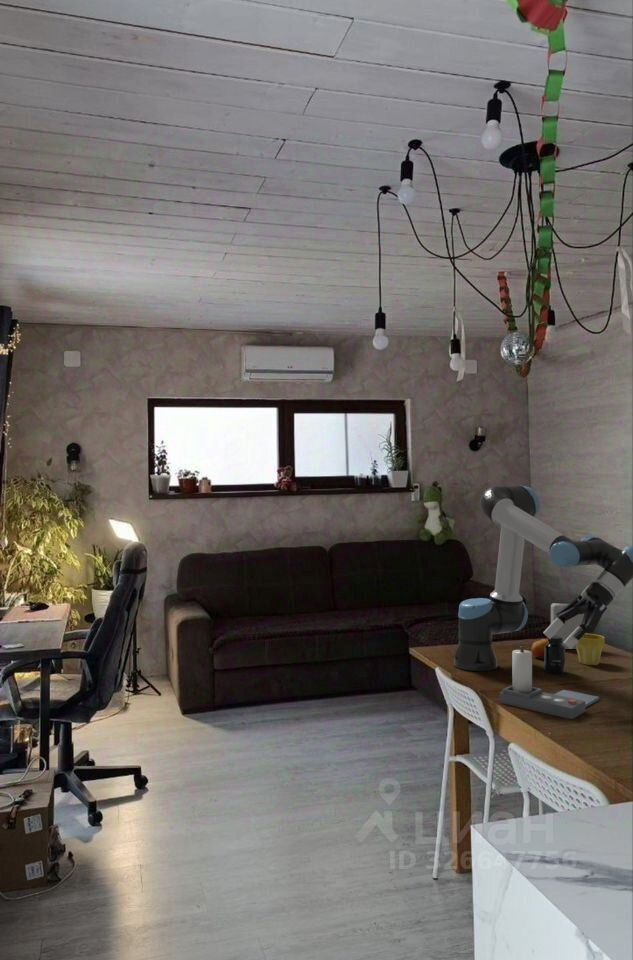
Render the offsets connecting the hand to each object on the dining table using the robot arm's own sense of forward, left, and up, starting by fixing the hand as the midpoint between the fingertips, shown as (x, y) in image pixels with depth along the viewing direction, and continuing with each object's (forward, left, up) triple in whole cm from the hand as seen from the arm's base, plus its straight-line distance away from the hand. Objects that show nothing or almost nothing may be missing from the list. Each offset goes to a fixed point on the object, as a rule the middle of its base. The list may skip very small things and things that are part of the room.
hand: (556, 640), depth 209 cm
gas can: (-25, +70, -18) cm, 77 cm away
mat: (+3, +5, -18) cm, 19 cm away
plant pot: (-11, +52, -18) cm, 56 cm away
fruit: (-27, +48, -18) cm, 58 cm away
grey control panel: (-1, -8, -18) cm, 20 cm away
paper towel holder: (-7, -8, -15) cm, 18 cm away
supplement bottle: (-15, +32, -18) cm, 40 cm away
